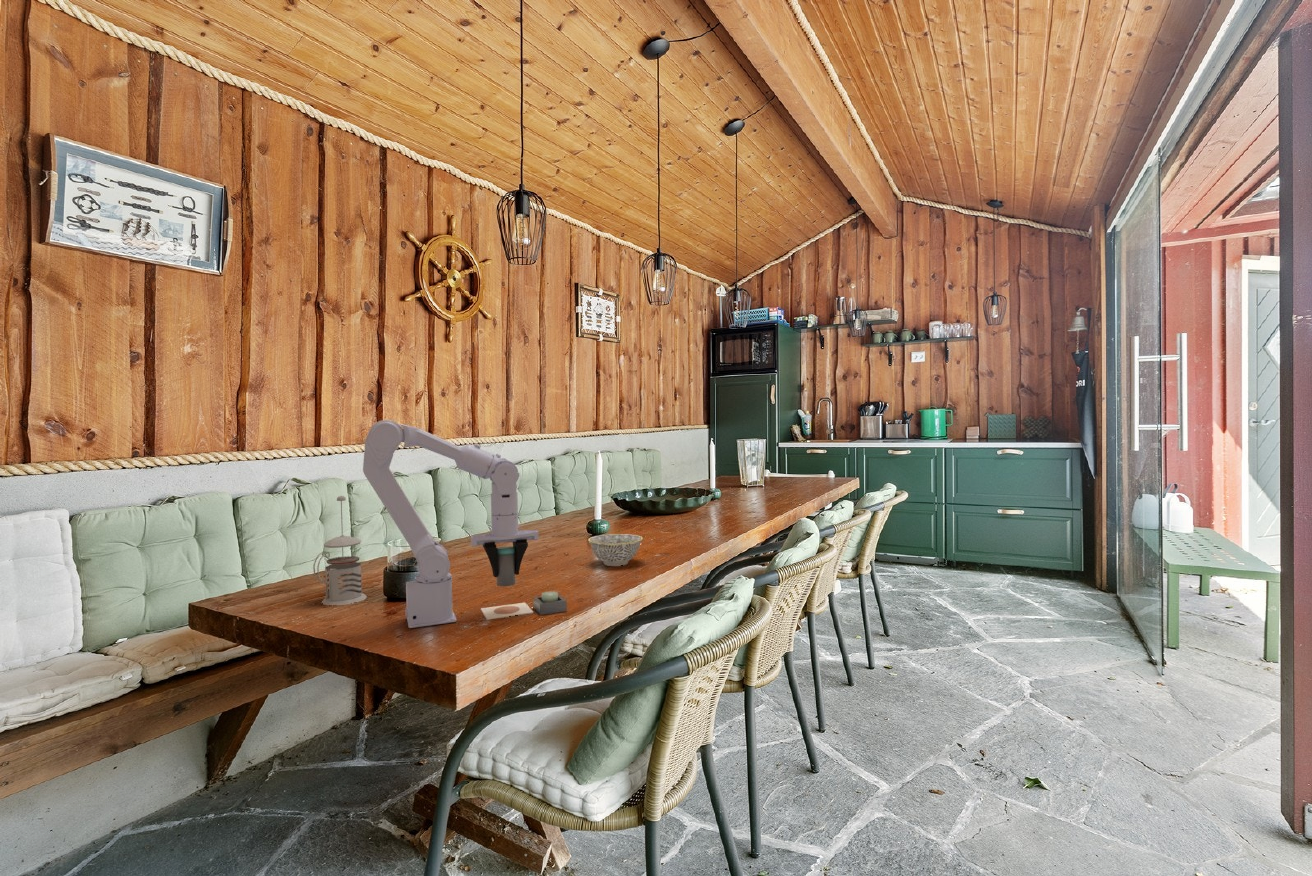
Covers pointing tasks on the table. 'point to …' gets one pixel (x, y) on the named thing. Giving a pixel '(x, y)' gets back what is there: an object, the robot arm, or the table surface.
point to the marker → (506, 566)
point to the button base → (549, 605)
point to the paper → (506, 611)
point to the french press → (342, 572)
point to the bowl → (615, 548)
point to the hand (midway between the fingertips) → (506, 575)
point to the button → (549, 596)
